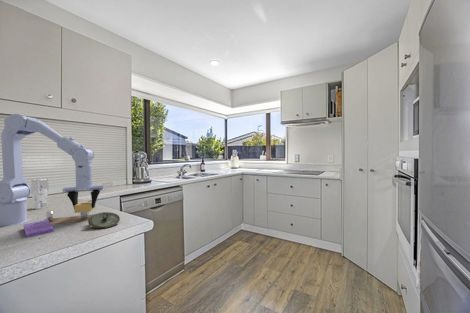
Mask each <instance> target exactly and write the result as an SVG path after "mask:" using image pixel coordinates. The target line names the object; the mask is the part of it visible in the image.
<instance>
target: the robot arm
mask: <svg viewBox="0 0 470 313" xmlns="http://www.w3.org/2000/svg"><path fill="white" fill-rule="evenodd" d="M3 124H4V125H3V126H4V127H3V129H2V131H1V133H0V140H1V142H0V143H1V158H2V174H3V175H2V176H3V178H2V179H1V180H0V227H3V226H12V225H13V226H14V225H22V224H25V222H28V221H29V220H32V218H28V212H27V211H28V208H27V206H28V205H27V204H28V202H27V200H28V198H29V197H30V195H32V194H31V186H30V185H29V181H28V180H27V179H26V178H25V177H24V171H23V170H24V169H23V168H24V167H23V152H22V140H23V139H24V138H25V137H27V136H30V135H32V134H35V133H39V134H41V135H43V136H45V137H46V138H48V139H49V140H51V141H53V142H55V143H56V144H57V145H56V146H57V148H58V149H60V150H61V151H63V152H65V153H66V154H68V155H69V156H71V158H72V160H73V161H74V164H75V186H68V187H63V188H62V193H63V194H64V193H67V194H66V196H67V197H68V199H69V200H70V202H71V204H72V207H73V210H74V211H75V209H74V206H75V205H76V204H78V203H79V192H80V193H81V192H90V196H91V202H92V208H94V209H95V208H96V203H97V199H98V197H99V195H100V193H101V191H104V190H106V189H105V188H106V187H105V185H104V184H103V185H102V184H101V185H93V159H94V158H95V152H94V150H92V148H89V147H85V145H84V144H80V143H79V142H77V141H76V139H75V138H74V137H71V136H70V137H69V136H63V135H61V134H60V133H59V132H57V131H56V130H55V129H53V128H52V127H50V126H49V125H48V124H47V123H45V122H43V121H42V120H39V119H38V118H35V117H31V116H26V115H22V114H19V113H13V114H11V115H9V116H7V117H6V118H4V120H3Z"/></svg>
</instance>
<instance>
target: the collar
mask: <svg viewBox="0 0 470 313" xmlns="http://www.w3.org/2000/svg"><path fill="white" fill-rule="evenodd" d="M74 209H75V210H74ZM94 209H95V207H94V208H92V201H85V202H78V204H76V205H75V206H74V207H73V210H74V213H75V214H77V213H80V214H81V212H89V213H90V212H92V211H93V210H94Z"/></svg>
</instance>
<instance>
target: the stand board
mask: <svg viewBox="0 0 470 313" xmlns="http://www.w3.org/2000/svg"><path fill="white" fill-rule="evenodd" d="M95 214H96V213H95ZM95 214H93V213H92V214H90V212H80V215H75V216H74V215H73V216H65V217H55V218H54V211H53V210H50V211H49V210H48V211H46V218H45V219H44V220H47V219H48V220H49V221H50V223H51V225H52V226H53V225H60V224H70V223H80V222H88V219H89V218H90V217H91V216H93V215H95Z"/></svg>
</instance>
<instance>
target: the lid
mask: <svg viewBox="0 0 470 313" xmlns="http://www.w3.org/2000/svg"><path fill="white" fill-rule="evenodd" d="M92 215H93V214H92ZM120 220H121V217H120V215H118V214H117V213H114V212H111V211H110V212H108V211H107V212H106V211H104V212H98V213H95V215H93V216H91V217H90V218H89V219H88V221H87V222H88V225H90V227H92V228H94V229H97V230H98V229H107V228H112V227H114V226H116V225H117V224H118V223H120Z"/></svg>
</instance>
